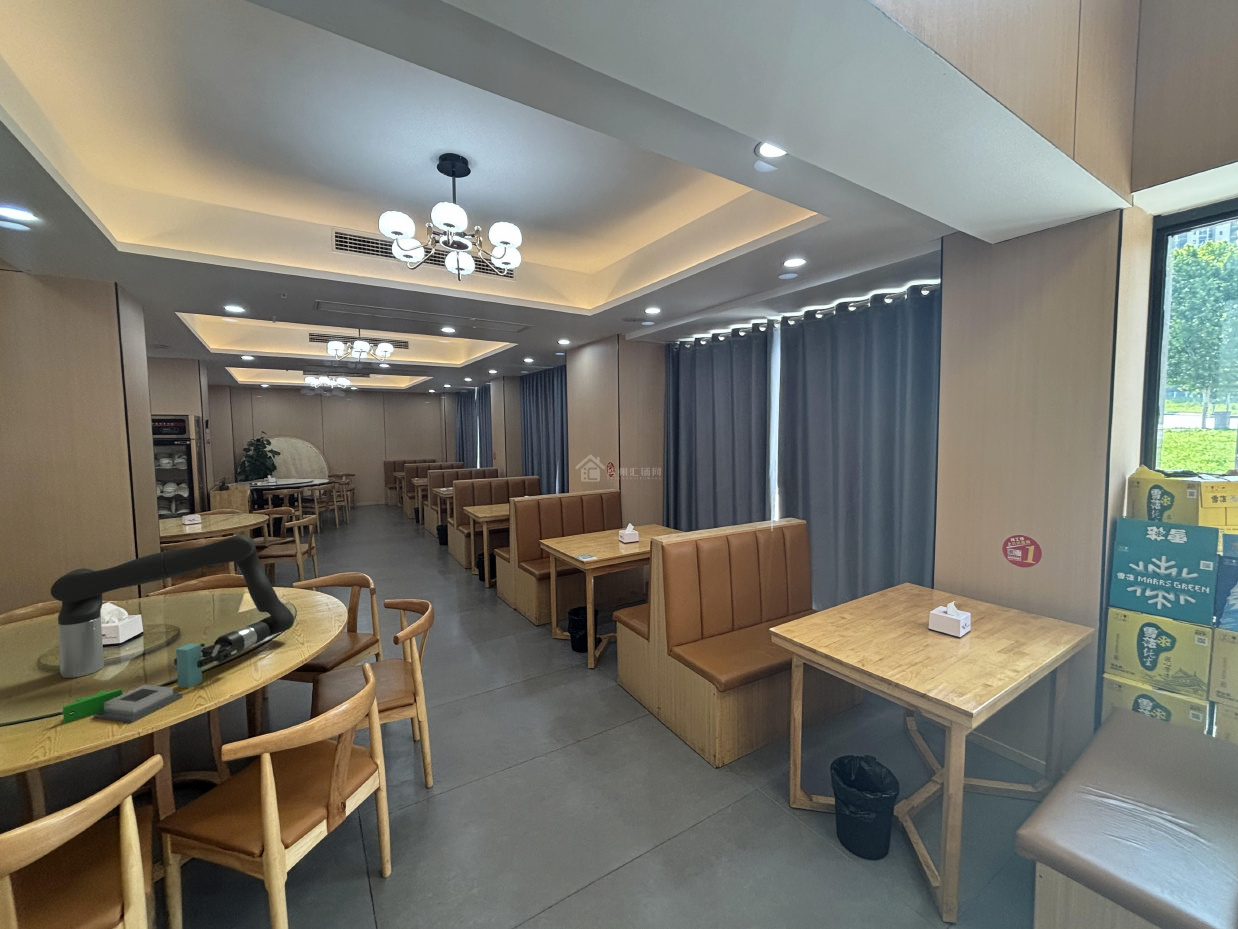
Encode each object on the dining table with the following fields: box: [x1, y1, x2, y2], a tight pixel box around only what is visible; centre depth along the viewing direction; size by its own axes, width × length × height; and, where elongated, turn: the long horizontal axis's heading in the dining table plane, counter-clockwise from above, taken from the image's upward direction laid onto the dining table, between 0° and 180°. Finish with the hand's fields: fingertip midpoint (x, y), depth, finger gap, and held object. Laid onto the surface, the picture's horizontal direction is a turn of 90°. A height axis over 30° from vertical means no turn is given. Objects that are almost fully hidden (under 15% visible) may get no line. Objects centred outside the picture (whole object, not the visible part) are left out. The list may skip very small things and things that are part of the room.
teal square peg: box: [175, 643, 203, 689], centre depth 151 cm, size 4×4×12 cm
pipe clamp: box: [62, 688, 123, 724], centre depth 136 cm, size 11×4×5 cm, turn 147°
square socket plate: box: [92, 684, 184, 724], centre depth 139 cm, size 13×13×4 cm
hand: (186, 663), depth 150 cm, fingers open, 8 cm apart
